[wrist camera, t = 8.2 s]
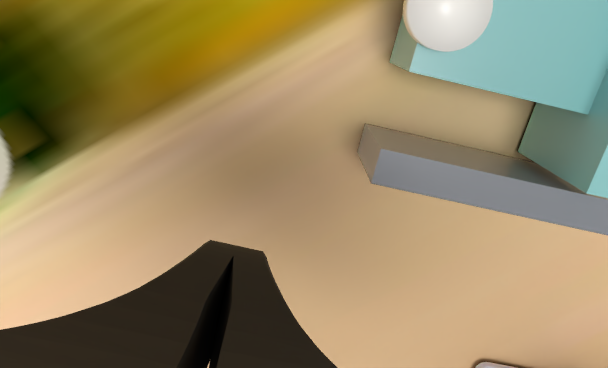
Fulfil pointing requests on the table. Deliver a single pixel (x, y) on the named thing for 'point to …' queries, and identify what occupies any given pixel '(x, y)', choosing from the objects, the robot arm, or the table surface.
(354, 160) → the table surface
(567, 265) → the table surface
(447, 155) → the grey tray
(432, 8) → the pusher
